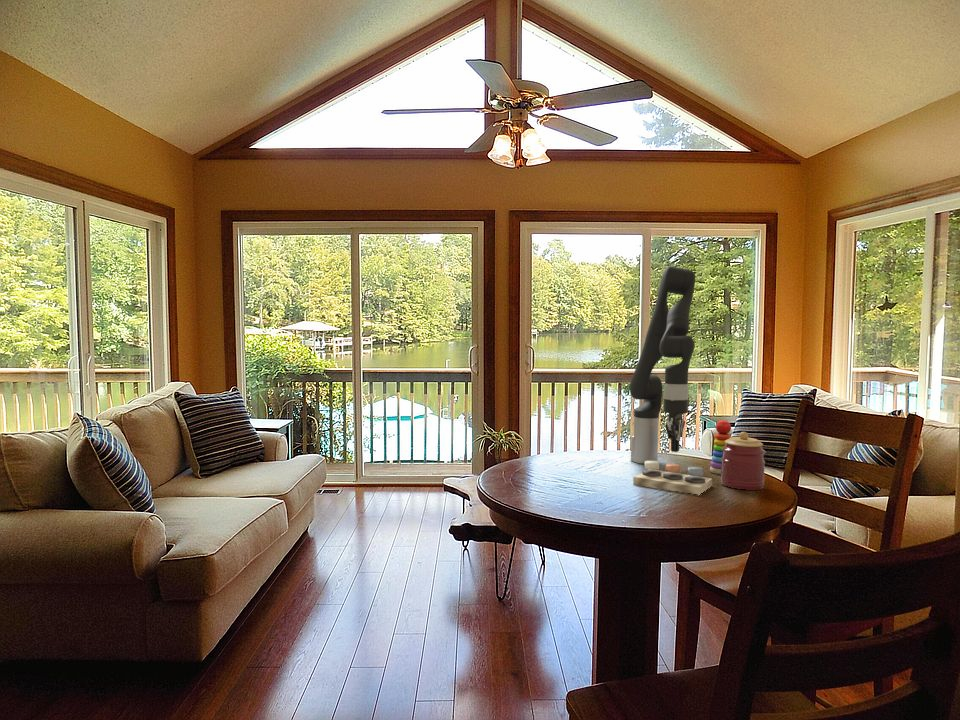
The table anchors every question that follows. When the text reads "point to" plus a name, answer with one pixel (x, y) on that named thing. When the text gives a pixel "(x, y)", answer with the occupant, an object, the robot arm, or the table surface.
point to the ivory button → (652, 465)
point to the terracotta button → (673, 468)
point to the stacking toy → (719, 445)
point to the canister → (743, 463)
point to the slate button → (695, 471)
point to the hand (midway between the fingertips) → (674, 451)
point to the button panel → (672, 481)
